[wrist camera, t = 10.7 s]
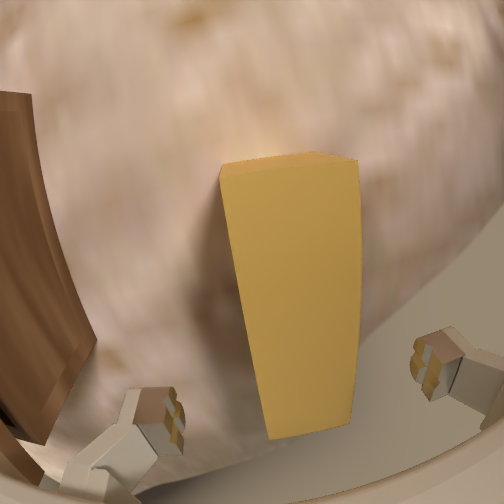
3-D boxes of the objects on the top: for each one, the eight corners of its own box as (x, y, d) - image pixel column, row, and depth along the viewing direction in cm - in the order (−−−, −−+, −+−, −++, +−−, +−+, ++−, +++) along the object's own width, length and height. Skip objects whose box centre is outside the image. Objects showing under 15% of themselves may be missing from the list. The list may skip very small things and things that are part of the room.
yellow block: (313, 151, 13) (357, 160, 8) (325, 361, 17) (349, 423, 12) (223, 163, 13) (218, 177, 8) (260, 373, 17) (268, 440, 12)
